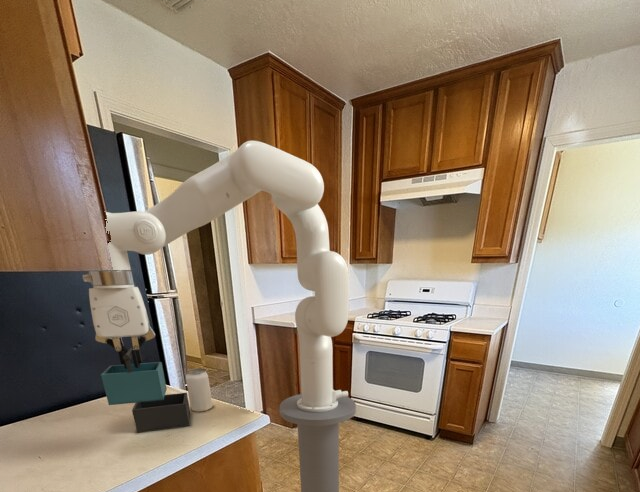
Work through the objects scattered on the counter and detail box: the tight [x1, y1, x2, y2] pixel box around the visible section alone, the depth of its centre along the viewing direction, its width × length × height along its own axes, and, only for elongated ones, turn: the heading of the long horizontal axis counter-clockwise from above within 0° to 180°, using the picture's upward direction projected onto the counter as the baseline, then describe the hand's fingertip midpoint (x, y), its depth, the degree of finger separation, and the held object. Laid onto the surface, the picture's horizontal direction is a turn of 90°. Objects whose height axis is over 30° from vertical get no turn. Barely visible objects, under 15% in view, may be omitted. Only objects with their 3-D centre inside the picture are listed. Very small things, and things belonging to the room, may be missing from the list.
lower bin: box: [131, 392, 191, 434], centre depth 100 cm, size 13×10×7 cm
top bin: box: [100, 347, 167, 406], centre depth 81 cm, size 11×8×11 cm
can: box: [185, 368, 213, 413], centre depth 108 cm, size 6×6×12 cm
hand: (132, 366), depth 80 cm, fingers closed on top bin, 1 cm apart
